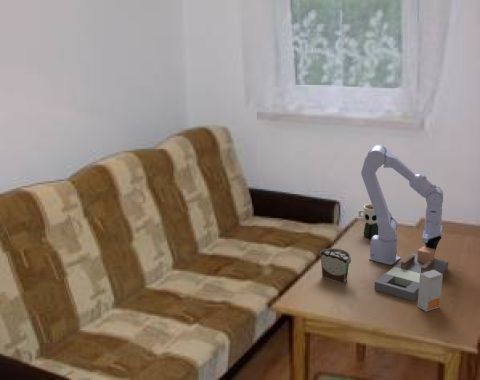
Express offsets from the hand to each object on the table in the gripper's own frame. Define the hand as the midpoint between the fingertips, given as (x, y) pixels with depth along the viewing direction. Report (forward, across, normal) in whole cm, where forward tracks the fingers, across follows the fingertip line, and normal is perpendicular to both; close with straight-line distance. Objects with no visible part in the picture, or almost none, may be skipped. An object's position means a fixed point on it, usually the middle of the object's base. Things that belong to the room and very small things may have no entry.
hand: (430, 254), depth 234 cm
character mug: (+4, +12, +31) cm, 34 cm away
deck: (+4, -16, 0) cm, 16 cm away
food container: (+4, -30, +22) cm, 37 cm away
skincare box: (+4, -32, -13) cm, 34 cm away
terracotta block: (+1, -5, 0) cm, 5 cm away
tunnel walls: (+1, -12, 0) cm, 12 cm away
